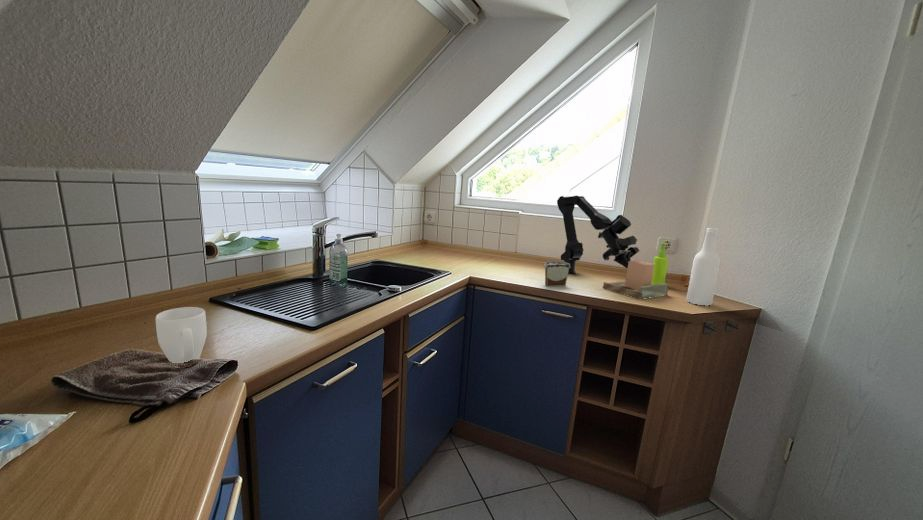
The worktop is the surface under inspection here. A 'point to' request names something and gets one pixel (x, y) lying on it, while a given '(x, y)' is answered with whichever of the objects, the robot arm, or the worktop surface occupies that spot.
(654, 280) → the soap dispenser
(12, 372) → the worktop surface
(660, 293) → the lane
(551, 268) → the food container
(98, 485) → the worktop surface
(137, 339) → the worktop surface
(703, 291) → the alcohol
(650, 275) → the block
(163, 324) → the mug
